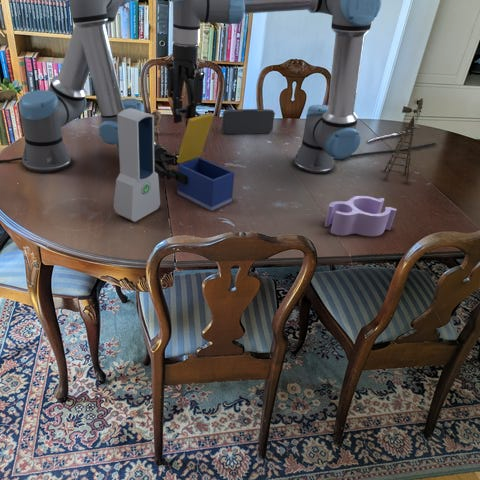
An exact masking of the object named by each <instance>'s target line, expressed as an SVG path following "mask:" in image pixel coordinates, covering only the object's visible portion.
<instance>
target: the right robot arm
mask: <svg viewBox="0 0 480 480" xmlns="http://www.w3.org/2000/svg"><path fill="white" fill-rule="evenodd" d="M381 7H382V0H172V40H171V41H172V43H173V44H172V58H173V59H174V60H173V62H168V63H166V68H167V97H168V98H171V101H172V110H173V123H174V124H178V123H182V122H183V117H182V116H181V115H177V114H176V109H179V108H183V97H182V93H183V88H184V83H185V88H186V95H187V103H188V105H186V107H187V108H186V113H185V115H186V116H187V117H188V118H189V119H190V118H194V117H197V115H196V112H197V107H200V106H202V104H203V86H204V78H205V75H206V73H205V71H201V70H200V69H199V68H198V67H199V66H198V60H199V59H200V58H199V57H200V46H199V44H200V40H201V37H200V36H201V23H212V24H213V23H215V24H225V25H239V24H241V23H243V21H244V19H245V15H246V14H261V13H263V14H264V13H277V12H278V13H280V12H292V11H294V12H295V11H308V12H309V13H310V14H316V13H319V14H326V15H330V16H331V30H332V31H333V33H334V34H335V37H334V45H333V55H332V64H331V65H332V66H331V74H330V84H329V85H330V86H329V92H328V102H327V103H328V104H313V105H310V106H309V107H308V109H307V112H306V115H305V116H306V117H305V123H304V127H303V128H304V129H303V135H302V141H301V145H300V147H299V148H298V150H297V152H296V154H295V156H294V159H293V165H294V166H295V167H296V168H297V169H298V170H300V171H303V172H306V173H310V174H317V175H323V174H329V173H331V172H332V171H333V170H334V166H335V161H339V162H341V161H345V160H347V159H350V158H355V157H362V156H370V155H377V154H387V153H393V152H394V151H395V149H396V148H395V149H388V150H387V149H386V150H377V151H369V152H361V153H355V152H356V151H357V150H358V149H359V147H360V144H361V134H360V132H359V131H358V130H357V125H358V116H357V115H356V113H355V107H356V106H355V105H356V100H357V99H356V98H357V92H358V84H359V76H360V71H361V69H360V68H361V63H362V54H363V48H364V40H365V35H366V34H367V33H369V32H370V31H371V27H372V22H374V21H375V18H377V17H378V16H379V13H380V12H381ZM187 124H188V121H187V120H185V128H186V127H187ZM434 142H435V143H432V142H431V143H432V144H428V143H424V144H420V145H415V146H412V148H411V150H414V149H420V148H424V147H428V146H432V145H436V143H437V142H436V141H434ZM398 149H399V148H397V151H398ZM404 151H408V147H403V148H402V147H401V149H400V151H399V152H404Z"/></svg>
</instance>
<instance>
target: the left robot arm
mask: <svg viewBox="0 0 480 480" xmlns="http://www.w3.org/2000/svg"><path fill="white" fill-rule="evenodd" d="M127 1H128V0H68V4H69V11H70V14H71V19H72V23H73V25H74V27H73V30H72V32H71V33H72V34H71V36H70V39H69V43H68V46H67V47H66V48H67V49H66V52H65V54H64V58H63V61H62V64H61V67H60V69H59V73H58V75H56V76H53V77H52V78H51V81H50V84H49V86H48V89H47V90H46V89H37V90H36V89H35V90H34V91H28V92H26V93H24V94H23V95H21V96H20V98H19V100H18V105H19V110H18V111H19V114H20V119H21V125H22V132H23V137H24V148H23V153H22V157H16V158H10V159H0V163H9V162H14V161H20V160H21V161H22V166H23V168H24V169H25V170H27V171H29V172H33V173H39V174H46V173H56V172H61V171H63V170H66V169H67V168H69V167H70V166H71V163H72V159H71V155H70V153H69V151H68V150H67V149H68V148H67V147H66V145H65V143H64V140H63V132H62V127H64V126H66V125H68V124H69V123H71V122H73V121H75V120H76V119H78V118H80V117H81V116H82V115H83V113H84V112H85V110H86V108H87V98H86V96H87V89H86V88H85V85H86V83H87V80H88V77H89V75H90V78H91V82H92V86H93V90H94V94H95V98H96V102H97V106H98V110H99V114H100V119H101V124H100V125H99V128H98V135H99V137H100V139H101V140H102V141H103V142H104V143H105V144H107V145H112V146H113V145H116V147H117V149H119V138H118V118H117V115H118V114H119V113H120V112H121V111H123V110H125V109H129V108H132V109H136V110H139V111H142V112H145V111H144V103H143V101H142V100H140V99H138V98H122V94H121V89H120V85H119V80H118V75H117V70H116V66H115V62H114V57H113V52H112V48H111V43H110V39H109V35H108V34H109V33H108V29H107V27H108V24H110V23H114V22H115V20H116V17H117V15H118V12H119V9H120V8H121V7H123V6H124V5H125V4H126V3H127ZM179 152H180V150H175V152H174V153H172V152H168V151H167V150H166V148H165V147H164V146H163V145H160V144H158V143H156V142H154V172H156V173H157V174H158V178H159V179H165V177H166V180H167V181H169V180H171V179H172V180H175V181H177V182H178V181H179V182H181V183H183V184H185V185H186V184H187V176H186V175H184V174H182V173H180V172H178V170H176V169H173V168H172V169H171V168H170V167H169V166H175V167H176V166H178V164H179V163H178V162H177V159H178V155H179ZM197 158H199V157H197ZM194 159H196V158H194ZM191 160H193V159H191ZM188 161H190V160H188ZM186 162H187V161H186ZM183 163H184V162H183ZM180 164H181V163H180Z"/></svg>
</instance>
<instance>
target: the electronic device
mask: <svg viewBox="0 0 480 480" xmlns="http://www.w3.org/2000/svg"><path fill="white" fill-rule="evenodd" d="M151 114H152V113H148V112H145V111H144V112H142V111H139V110H136V109H132V108H129V109H125V110H123V111H121V112H120V113H119V114H118V115H117V118H118V138H119V148H118V154H119V155H118V156H119V174H118V176H117V177H116V180H115V190H114V198H113V205H112V206H113V209H114V212H115V213H116V214H117V215H118V216H120V217H123V218H124V219H127V220H129V221H131V222H133V223H136V222H137V221H139V220H141V219H142V218H145V217H146V216H148V215H150V214H151V213H153V212H155V211H157V210H158V209H159V208H160V206H161V193H160V181H159V179H160V178H159V176H158V174H157V173H156V172H154V143H155V126H154V115H151Z"/></svg>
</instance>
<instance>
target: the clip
mask: <svg viewBox="0 0 480 480" xmlns="http://www.w3.org/2000/svg"><path fill="white" fill-rule="evenodd" d="M384 201H385V198H383V197H379V198H376V197H373V196H368V195H357V196H352V197H350V198H349V200H347V201H339V200H338V201H337V200H335V201H332V202H330V203H329V205H328V208H327V214H326V218H325V222H324V227H326V228H329V227H330V226H331V227H330V233H331V234H333V235H336V236H348V235H353V234H356V235H360V236H364V237H365V236H366V237H378V236H381V235H382V234H384V232H385V230H387V231H391V229H392V226H393V222H394V219H395V216H396V213H397V210H398V209H397V208H395V207H391V206H385V207H384V211H383V212H382V209H383V206H384Z"/></svg>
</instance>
